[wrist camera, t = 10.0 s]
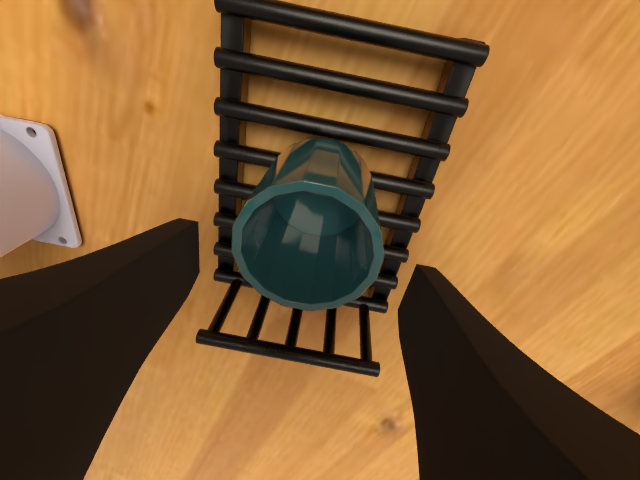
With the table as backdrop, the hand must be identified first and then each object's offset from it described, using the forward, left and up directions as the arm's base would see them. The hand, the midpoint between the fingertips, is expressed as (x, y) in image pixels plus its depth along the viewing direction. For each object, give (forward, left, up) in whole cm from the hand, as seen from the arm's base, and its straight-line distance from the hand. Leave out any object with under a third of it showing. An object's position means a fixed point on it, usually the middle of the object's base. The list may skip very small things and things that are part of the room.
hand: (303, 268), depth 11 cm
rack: (0, 0, -9) cm, 9 cm away
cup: (0, 0, -7) cm, 7 cm away
